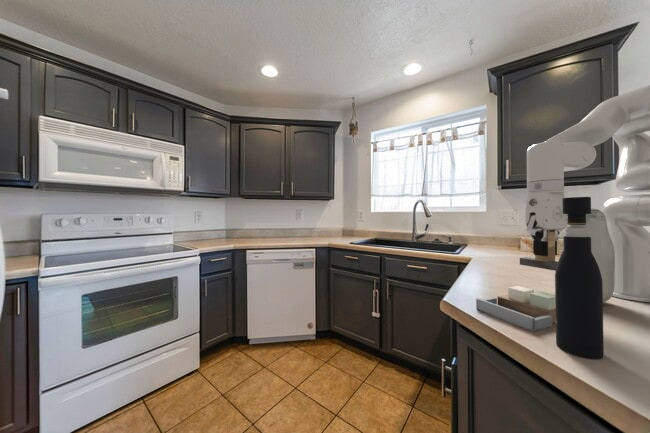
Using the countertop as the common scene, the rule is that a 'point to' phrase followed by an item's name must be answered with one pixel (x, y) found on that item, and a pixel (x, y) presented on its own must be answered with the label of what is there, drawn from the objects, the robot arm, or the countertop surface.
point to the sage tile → (543, 300)
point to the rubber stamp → (543, 261)
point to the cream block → (520, 293)
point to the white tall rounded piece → (601, 249)
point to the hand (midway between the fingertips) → (545, 254)
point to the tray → (513, 315)
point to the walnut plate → (525, 308)
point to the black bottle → (578, 287)
